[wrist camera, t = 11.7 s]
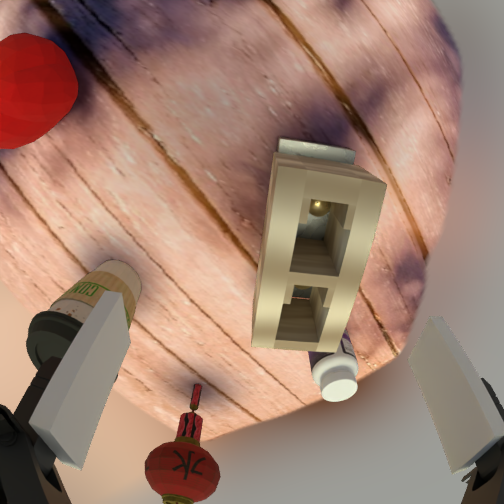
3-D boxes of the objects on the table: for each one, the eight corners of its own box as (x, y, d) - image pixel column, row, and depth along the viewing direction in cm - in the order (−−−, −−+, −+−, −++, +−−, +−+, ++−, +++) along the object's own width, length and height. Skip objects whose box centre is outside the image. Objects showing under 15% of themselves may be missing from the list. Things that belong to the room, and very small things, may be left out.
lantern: (174, 357, 41) (123, 564, 14) (237, 377, 43) (223, 582, 16) (162, 393, 45) (120, 564, 18) (218, 410, 47) (199, 581, 20)
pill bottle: (304, 349, 40) (312, 407, 31) (307, 318, 38) (317, 377, 29) (343, 347, 40) (358, 403, 31) (349, 316, 38) (368, 372, 29)
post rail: (278, 136, 29) (283, 143, 23) (348, 147, 29) (369, 158, 23) (258, 281, 36) (258, 316, 30) (319, 287, 36) (328, 322, 30)
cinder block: (273, 151, 27) (278, 165, 21) (359, 165, 27) (387, 184, 21) (252, 302, 34) (251, 346, 28) (324, 309, 34) (336, 352, 28)
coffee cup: (159, 257, 35) (108, 347, 21) (152, 322, 39) (115, 414, 25) (84, 237, 34) (11, 309, 20) (86, 302, 38) (32, 380, 24)
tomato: (86, 146, 29) (5, 176, 17) (11, 130, 28) (-67, 154, 16) (112, 43, 24) (35, 21, 12) (31, 39, 23) (-49, 33, 11)
